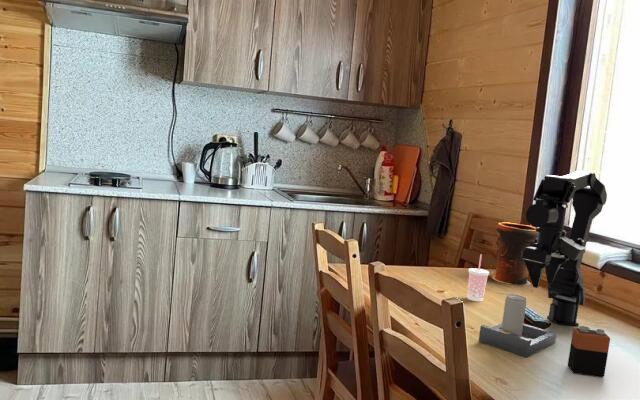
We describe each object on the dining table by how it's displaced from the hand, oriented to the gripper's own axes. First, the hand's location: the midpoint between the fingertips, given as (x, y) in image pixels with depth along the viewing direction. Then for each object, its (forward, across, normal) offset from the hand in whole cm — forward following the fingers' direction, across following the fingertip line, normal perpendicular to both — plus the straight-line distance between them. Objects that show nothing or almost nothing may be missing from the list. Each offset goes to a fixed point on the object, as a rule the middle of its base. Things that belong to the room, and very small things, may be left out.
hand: (542, 285), depth 160 cm
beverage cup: (+13, +17, +26) cm, 34 cm away
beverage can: (+13, -15, 0) cm, 20 cm away
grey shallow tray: (+13, -12, 0) cm, 17 cm away
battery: (+13, -16, -18) cm, 28 cm away
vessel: (+13, +54, +32) cm, 64 cm away
